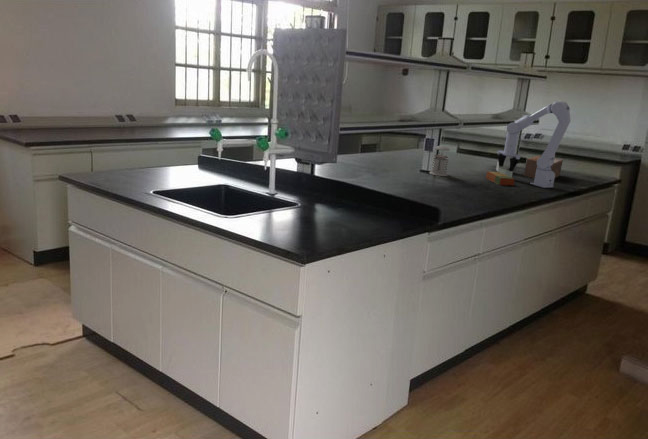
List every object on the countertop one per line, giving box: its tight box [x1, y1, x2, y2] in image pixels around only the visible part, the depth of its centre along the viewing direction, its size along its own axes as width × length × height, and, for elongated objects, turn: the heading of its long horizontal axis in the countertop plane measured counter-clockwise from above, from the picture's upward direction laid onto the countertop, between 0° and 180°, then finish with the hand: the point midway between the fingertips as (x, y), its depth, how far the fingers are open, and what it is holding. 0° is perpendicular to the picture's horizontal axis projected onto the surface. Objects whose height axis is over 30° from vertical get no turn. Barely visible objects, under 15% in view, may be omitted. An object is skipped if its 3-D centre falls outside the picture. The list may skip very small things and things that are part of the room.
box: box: [499, 166, 514, 178], centre depth 315 cm, size 5×5×6 cm
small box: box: [495, 155, 512, 172], centre depth 336 cm, size 8×6×10 cm
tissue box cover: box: [523, 155, 564, 179], centre depth 336 cm, size 26×14×10 cm, turn 147°
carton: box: [485, 171, 515, 187], centre depth 303 cm, size 8×16×4 cm, turn 10°
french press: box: [428, 133, 451, 177], centre depth 304 cm, size 10×12×25 cm
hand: (505, 169), depth 315 cm, fingers open, 7 cm apart
